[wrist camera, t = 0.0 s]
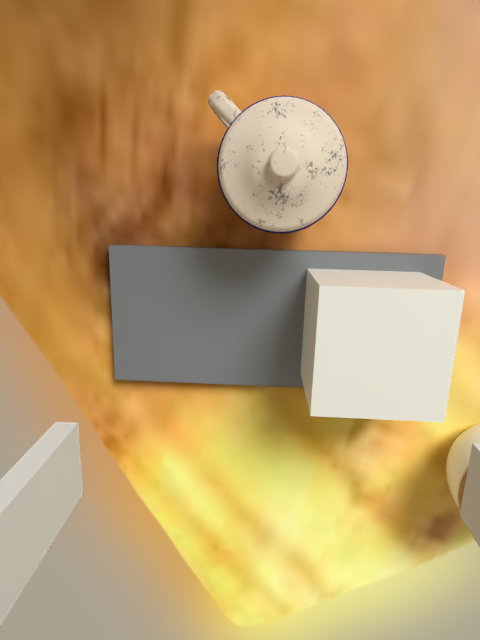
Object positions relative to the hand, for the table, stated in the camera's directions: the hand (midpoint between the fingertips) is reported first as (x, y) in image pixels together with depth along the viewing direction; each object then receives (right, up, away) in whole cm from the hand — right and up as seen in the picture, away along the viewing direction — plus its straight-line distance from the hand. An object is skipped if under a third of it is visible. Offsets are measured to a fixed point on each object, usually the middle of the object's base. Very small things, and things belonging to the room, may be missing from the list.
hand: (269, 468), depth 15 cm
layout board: (+2, +5, +28) cm, 28 cm away
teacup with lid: (+1, +19, +24) cm, 31 cm away
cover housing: (+10, +5, +26) cm, 28 cm away
